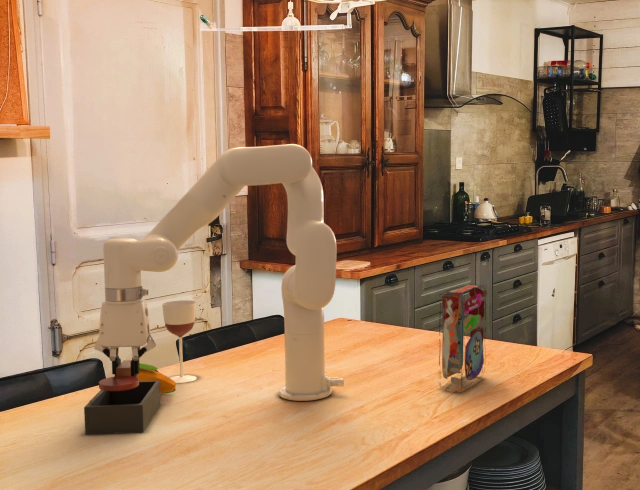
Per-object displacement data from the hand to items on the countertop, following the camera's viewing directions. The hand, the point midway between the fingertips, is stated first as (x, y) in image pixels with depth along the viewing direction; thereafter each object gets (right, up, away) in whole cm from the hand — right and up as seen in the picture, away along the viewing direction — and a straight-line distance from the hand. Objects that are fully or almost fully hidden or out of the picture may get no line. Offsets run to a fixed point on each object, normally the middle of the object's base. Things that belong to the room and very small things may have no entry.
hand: (126, 376), depth 171 cm
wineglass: (+4, -6, +30) cm, 31 cm away
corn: (-1, -7, +17) cm, 18 cm away
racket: (0, -1, -3) cm, 3 cm away
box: (+78, -6, +28) cm, 83 cm away
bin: (+1, -9, -2) cm, 9 cm away
